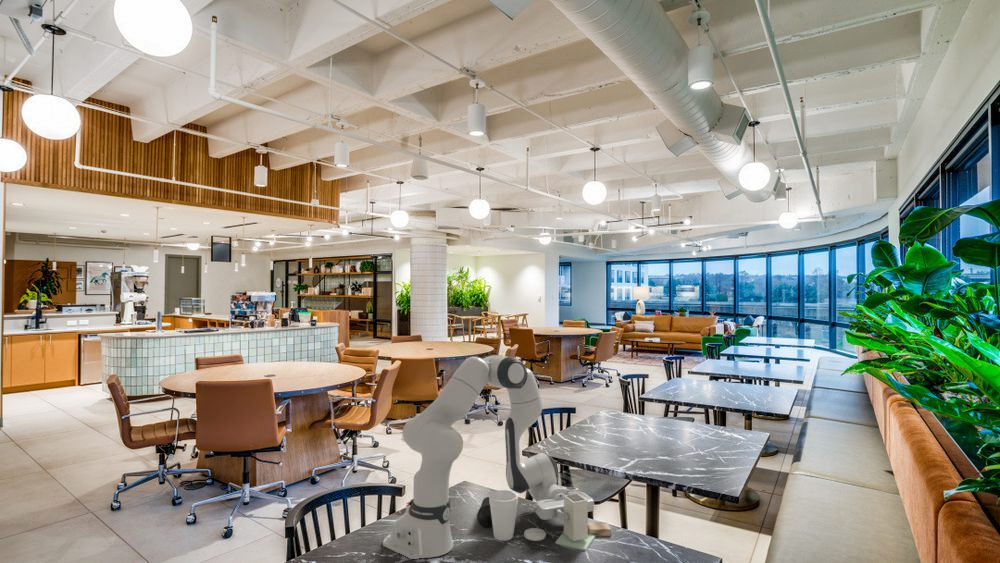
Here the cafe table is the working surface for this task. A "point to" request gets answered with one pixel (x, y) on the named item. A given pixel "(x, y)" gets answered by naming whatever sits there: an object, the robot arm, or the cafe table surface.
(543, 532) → the white pebble stone
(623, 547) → the cafe table surface
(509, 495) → the foam cup
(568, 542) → the mat
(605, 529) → the oak block
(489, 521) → the drinking cup
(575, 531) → the canister
